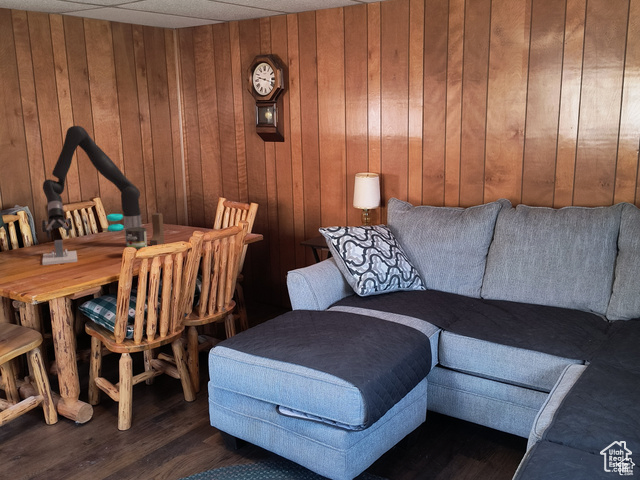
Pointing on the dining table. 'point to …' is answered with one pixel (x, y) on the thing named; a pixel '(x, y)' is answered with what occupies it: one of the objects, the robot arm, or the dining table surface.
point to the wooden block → (157, 229)
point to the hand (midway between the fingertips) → (58, 236)
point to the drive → (59, 248)
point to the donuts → (115, 218)
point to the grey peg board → (51, 257)
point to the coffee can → (136, 237)
